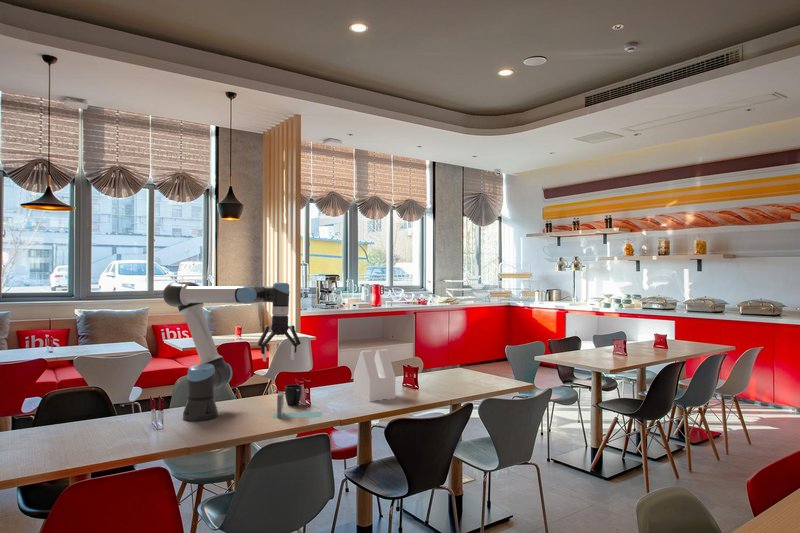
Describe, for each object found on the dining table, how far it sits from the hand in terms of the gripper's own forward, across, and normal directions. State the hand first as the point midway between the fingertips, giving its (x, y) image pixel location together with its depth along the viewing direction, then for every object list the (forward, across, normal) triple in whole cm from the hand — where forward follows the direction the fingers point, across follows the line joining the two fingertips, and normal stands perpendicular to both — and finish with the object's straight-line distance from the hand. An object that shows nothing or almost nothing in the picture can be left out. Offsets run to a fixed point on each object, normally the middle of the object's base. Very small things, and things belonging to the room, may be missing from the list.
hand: (278, 360), depth 259 cm
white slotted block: (+24, +57, +10) cm, 63 cm away
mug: (+25, +12, +10) cm, 30 cm away
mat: (+24, +7, -9) cm, 27 cm away
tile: (+24, 0, -6) cm, 25 cm away
